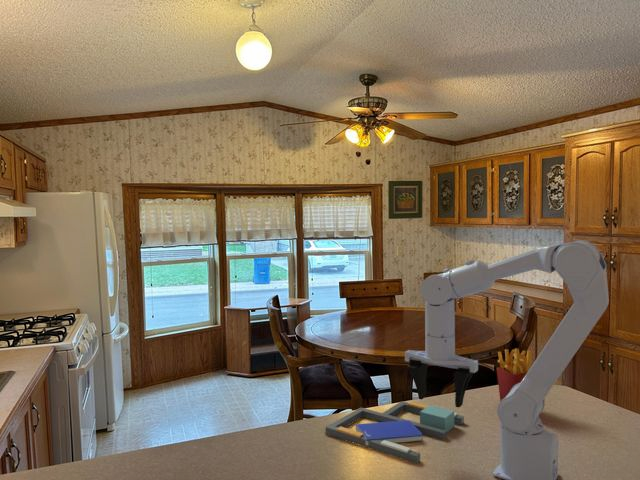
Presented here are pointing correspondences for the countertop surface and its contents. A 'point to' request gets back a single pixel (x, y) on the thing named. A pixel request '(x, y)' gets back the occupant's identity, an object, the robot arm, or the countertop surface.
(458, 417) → the bar
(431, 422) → the teal block
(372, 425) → the blue book
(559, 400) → the countertop surface
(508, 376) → the french fries
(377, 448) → the gray open frame
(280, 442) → the countertop surface
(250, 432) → the countertop surface
